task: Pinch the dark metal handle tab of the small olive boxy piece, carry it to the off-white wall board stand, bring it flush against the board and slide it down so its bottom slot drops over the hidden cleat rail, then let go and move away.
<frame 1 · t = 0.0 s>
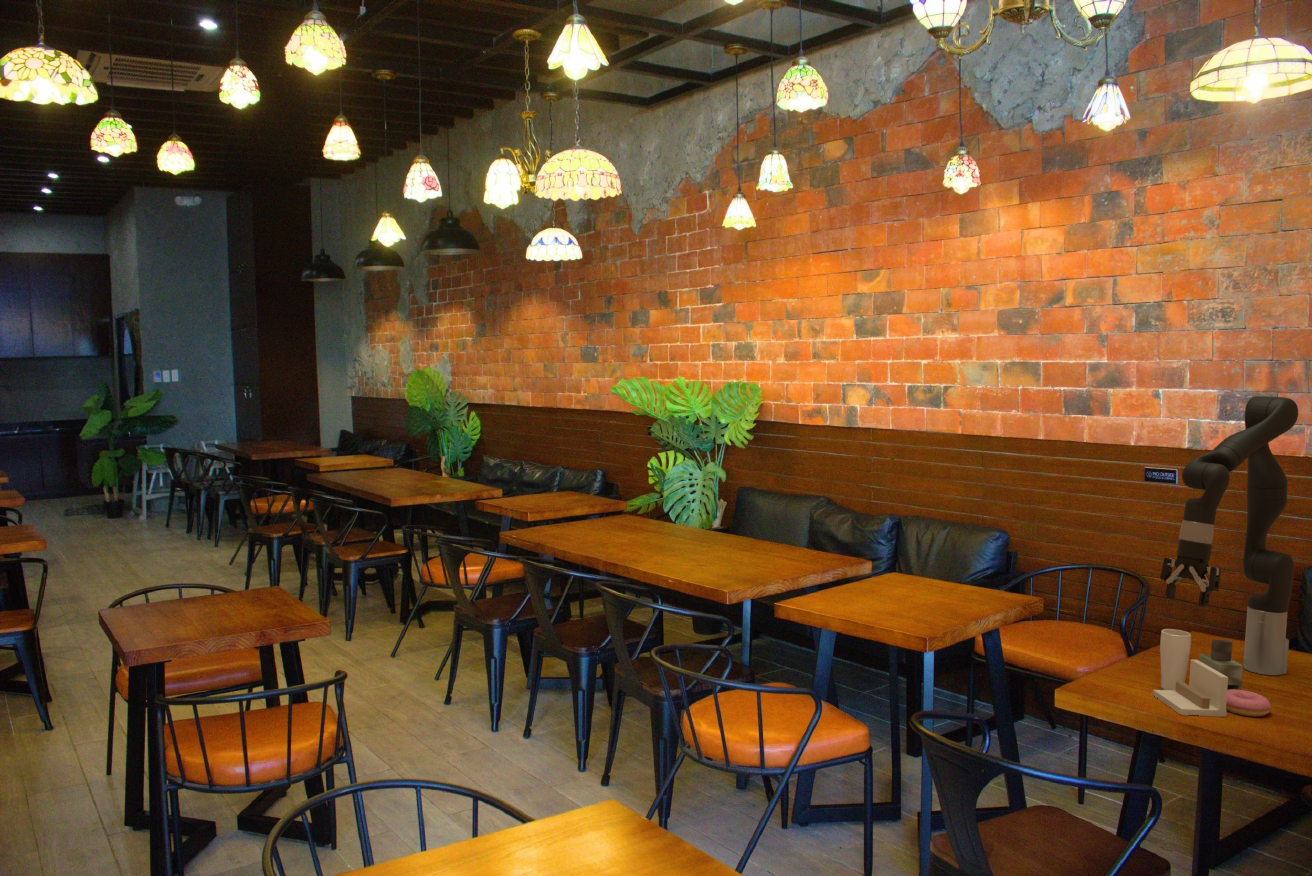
hand: (1185, 602, 245), 22 cm above the table, tool pointing down, fingers open, 8 cm apart
olive boxy piece: (1218, 690, 246), on the table
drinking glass: (1172, 690, 245), on the table
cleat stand: (1191, 705, 233), on the table
doughnut: (1243, 711, 231), on the table
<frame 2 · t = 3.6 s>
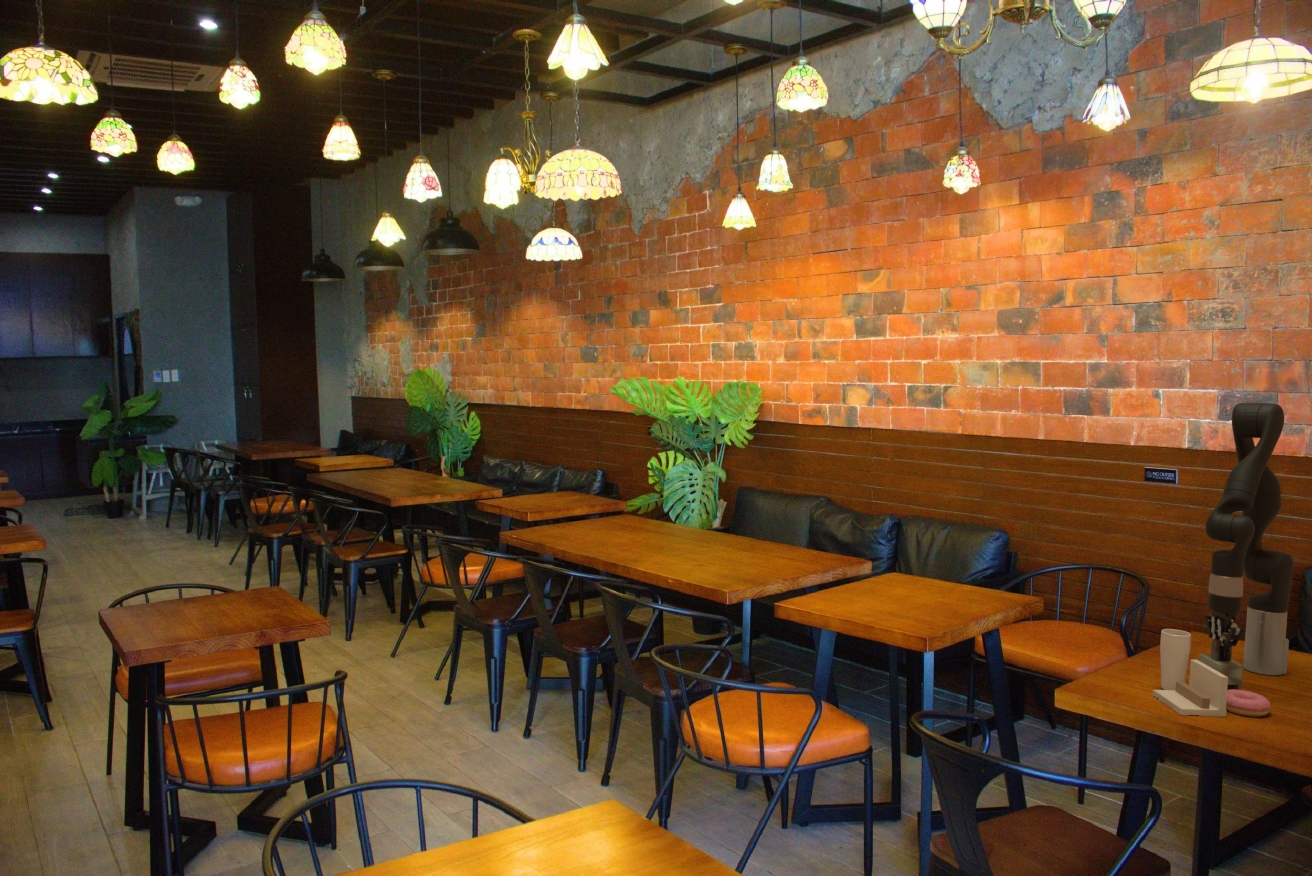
hand: (1220, 658, 245), 8 cm above the table, tool pointing down, fingers closed on olive boxy piece
olive boxy piece: (1218, 690, 246), on the table, touching gripper
everything else where it was.
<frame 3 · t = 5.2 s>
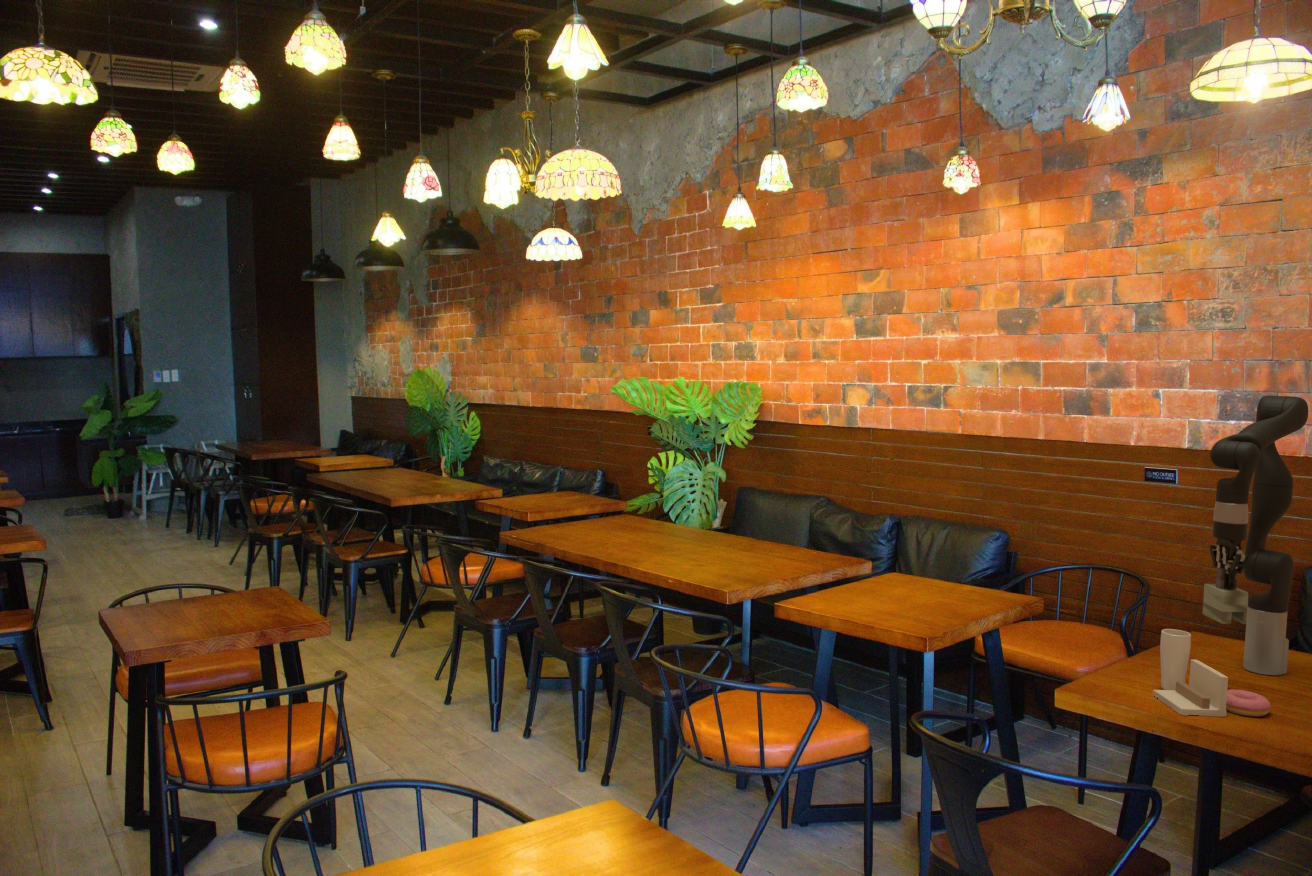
hand: (1225, 587, 243), 27 cm above the table, tool pointing down, fingers closed on olive boxy piece
olive boxy piece: (1224, 619, 244), point 19 cm above the table, touching gripper
everything else where it was.
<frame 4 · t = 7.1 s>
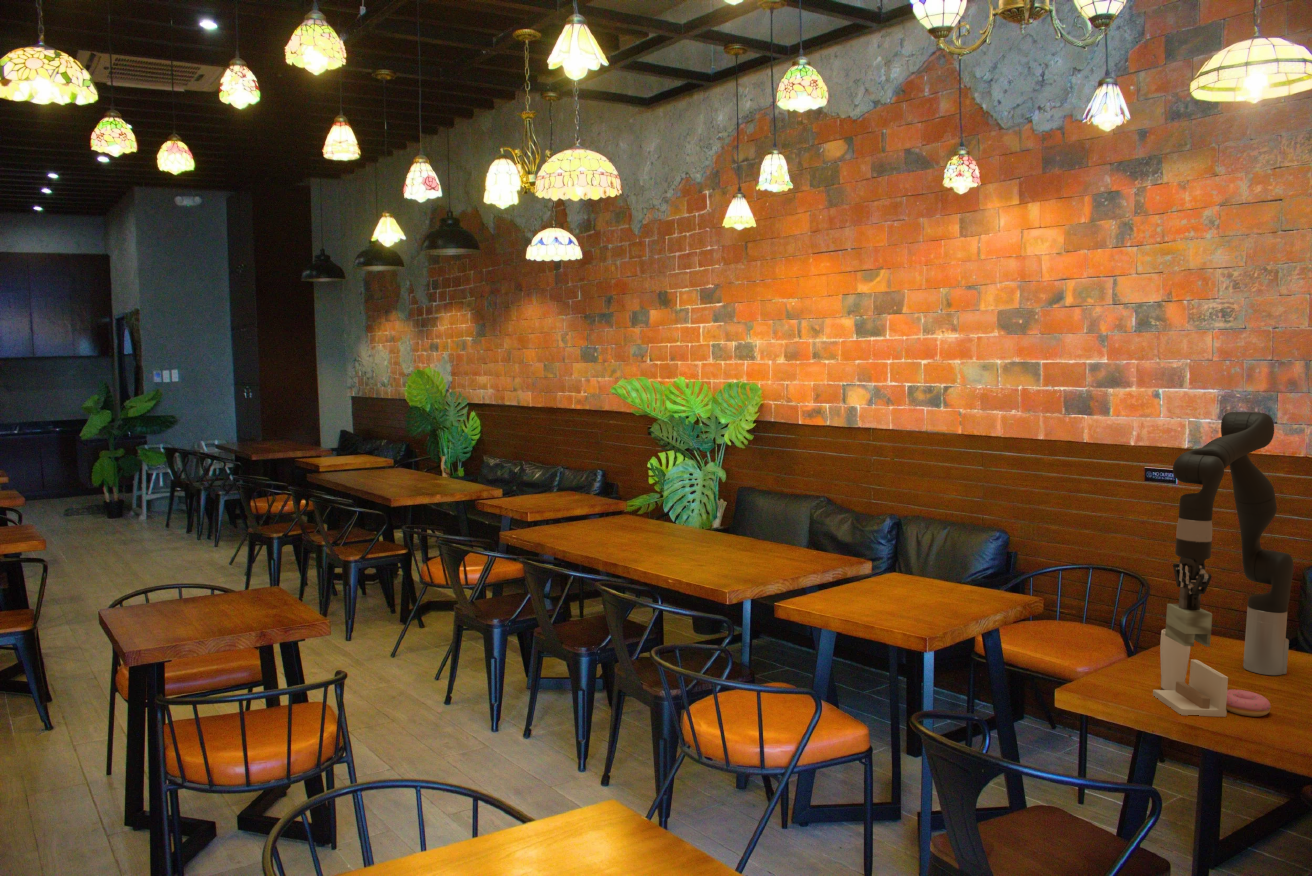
hand: (1189, 608, 232), 24 cm above the table, tool pointing down, fingers closed on olive boxy piece
olive boxy piece: (1187, 640, 232), point 16 cm above the table, touching gripper
everything else where it was.
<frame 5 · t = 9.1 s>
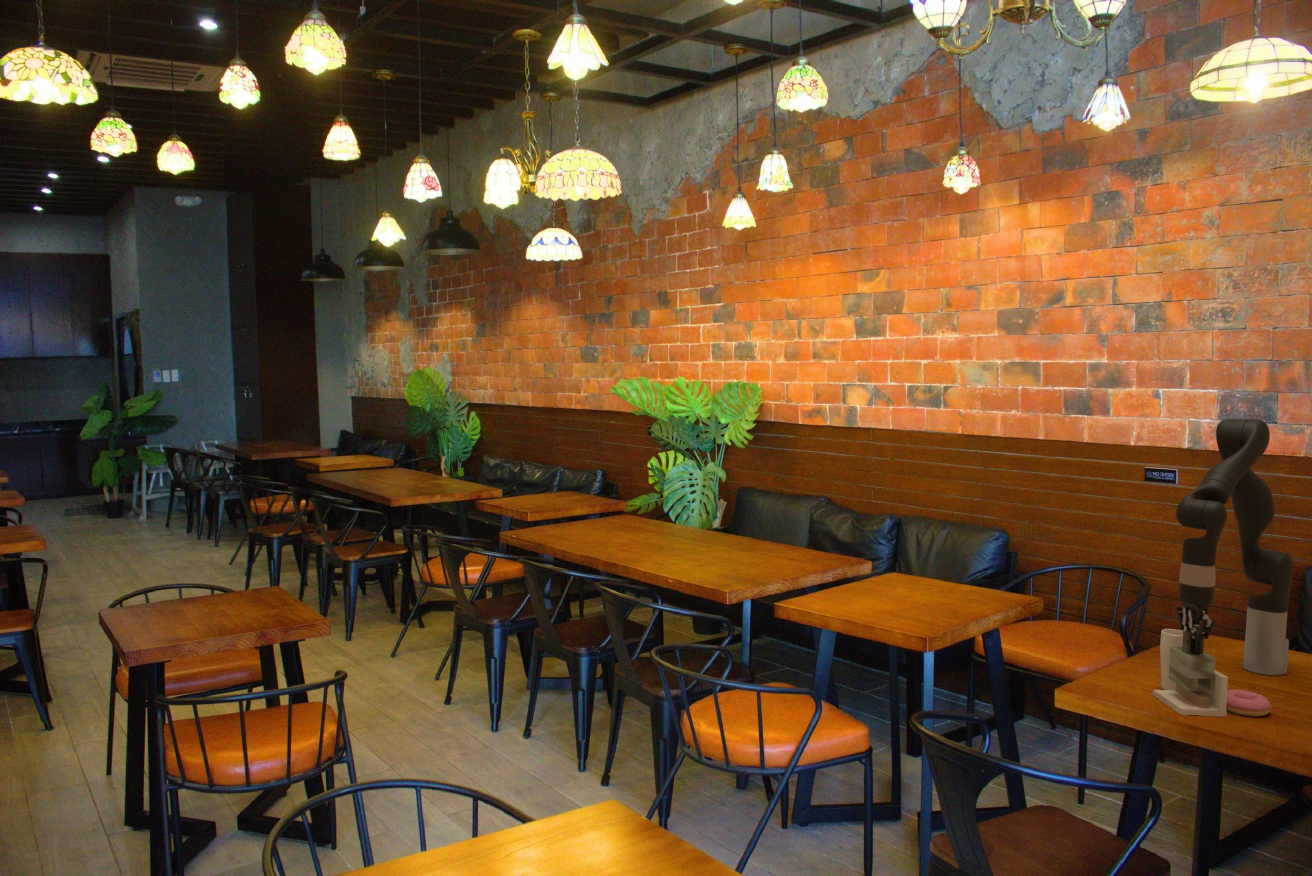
hand: (1192, 652, 232), 13 cm above the table, tool pointing down, fingers closed on olive boxy piece
olive boxy piece: (1190, 684, 233), point 5 cm above the table, touching gripper
everything else where it was.
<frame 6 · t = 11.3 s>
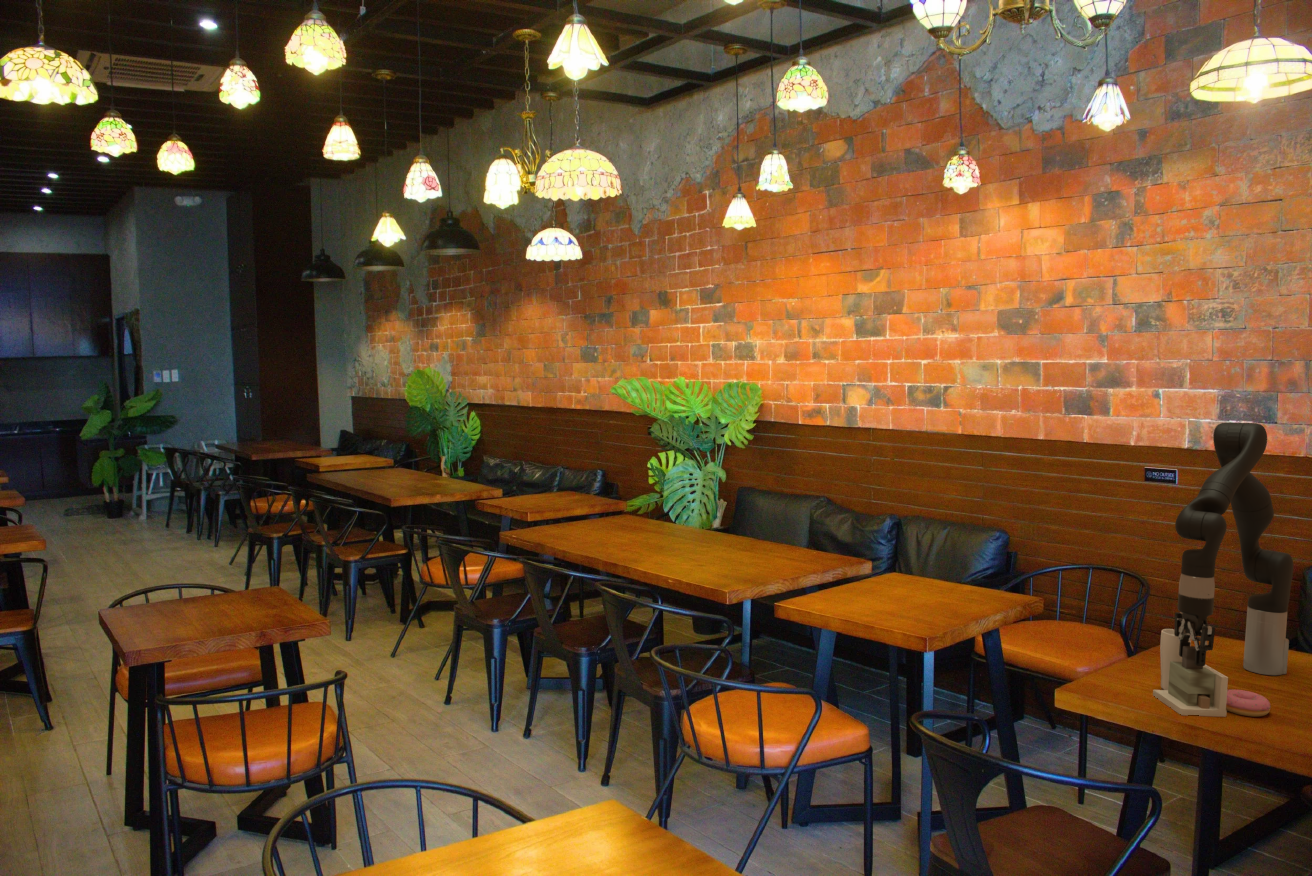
hand: (1191, 660, 232), 11 cm above the table, tool pointing down, fingers open, 6 cm apart
olive boxy piece: (1189, 699, 233), point 1 cm above the table, touching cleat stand
everything else where it was.
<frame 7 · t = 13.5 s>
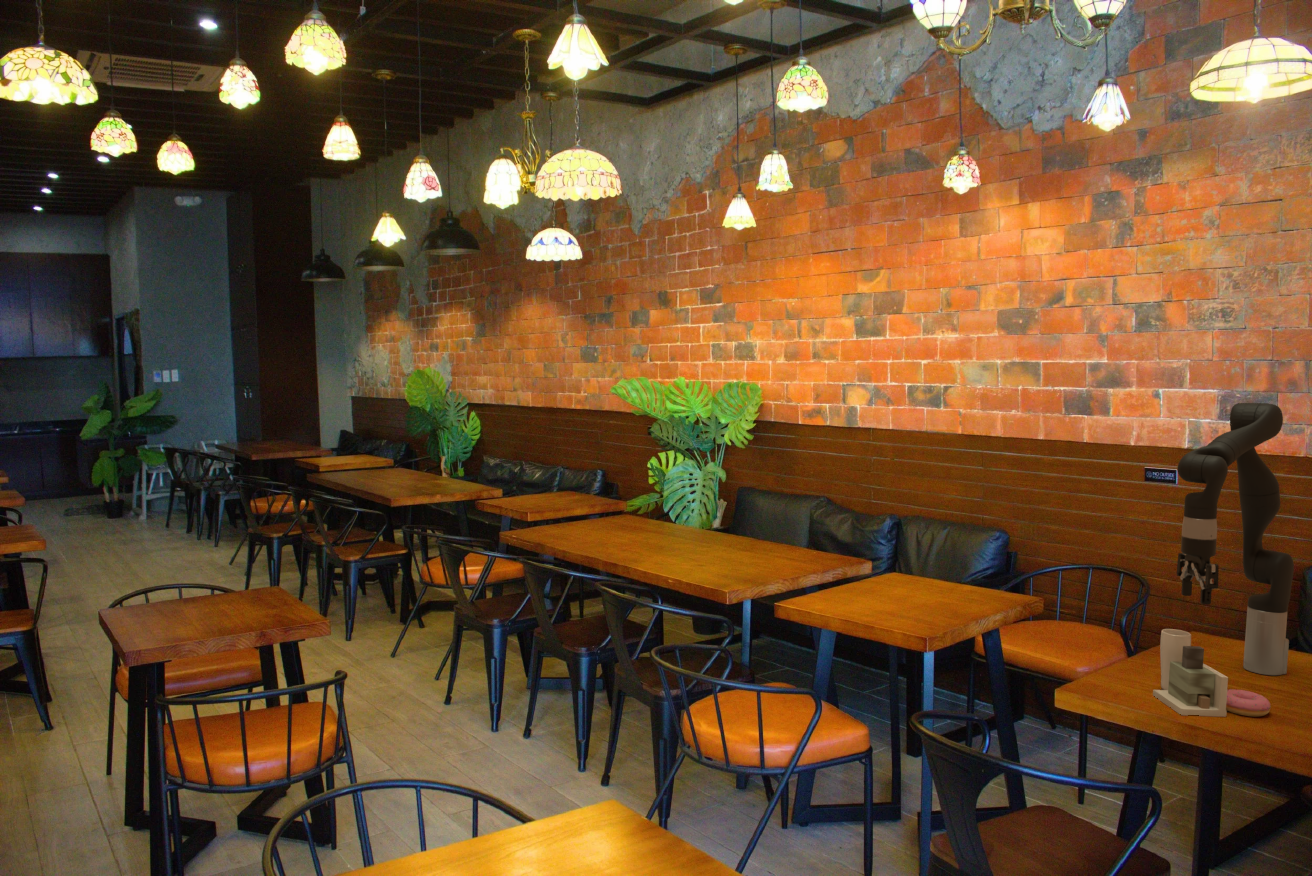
hand: (1195, 599, 238), 25 cm above the table, tool pointing down, fingers open, 8 cm apart
nothing on the table moved.
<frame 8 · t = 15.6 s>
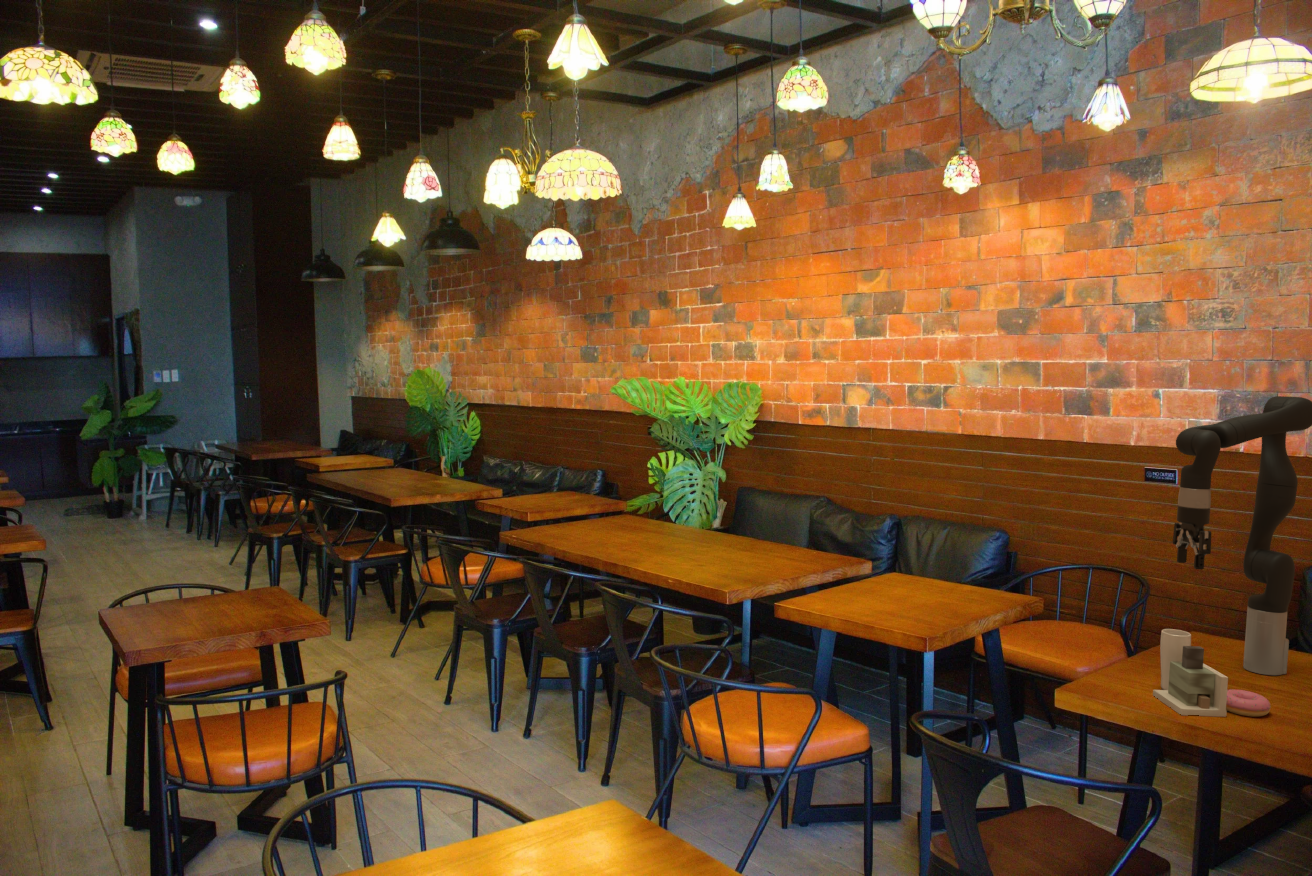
hand: (1189, 565, 253), 30 cm above the table, tool pointing down, fingers open, 8 cm apart
nothing on the table moved.
at the end: olive boxy piece 0.2 cm off-centre on the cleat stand, point 1.5 cm above the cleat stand's base; olive boxy piece tilted 0°; the gripper is holding nothing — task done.
